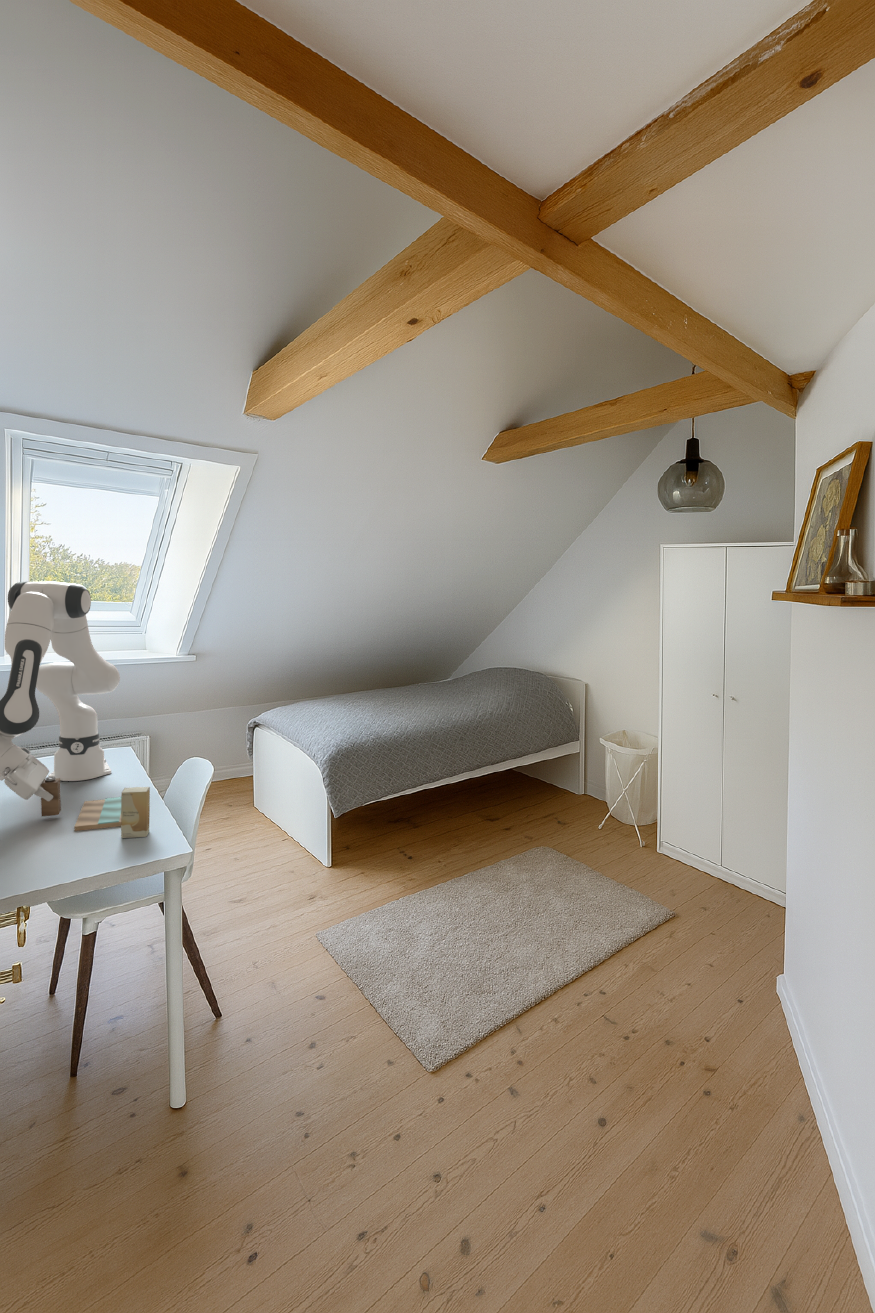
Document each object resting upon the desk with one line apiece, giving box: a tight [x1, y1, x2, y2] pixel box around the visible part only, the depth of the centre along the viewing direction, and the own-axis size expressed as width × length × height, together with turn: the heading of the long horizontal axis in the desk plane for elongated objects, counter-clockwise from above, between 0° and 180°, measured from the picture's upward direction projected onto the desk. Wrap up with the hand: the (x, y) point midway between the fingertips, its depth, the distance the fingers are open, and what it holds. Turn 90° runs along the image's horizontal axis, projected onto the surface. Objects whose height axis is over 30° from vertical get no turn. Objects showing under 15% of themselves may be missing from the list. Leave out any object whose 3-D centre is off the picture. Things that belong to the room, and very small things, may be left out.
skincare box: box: [120, 786, 151, 839], centre depth 164 cm, size 6×4×12 cm
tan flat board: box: [73, 796, 121, 832], centre depth 178 cm, size 22×15×2 cm
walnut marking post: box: [40, 776, 62, 817], centre depth 173 cm, size 4×4×10 cm
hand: (53, 795), depth 174 cm, fingers closed on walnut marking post, 4 cm apart
